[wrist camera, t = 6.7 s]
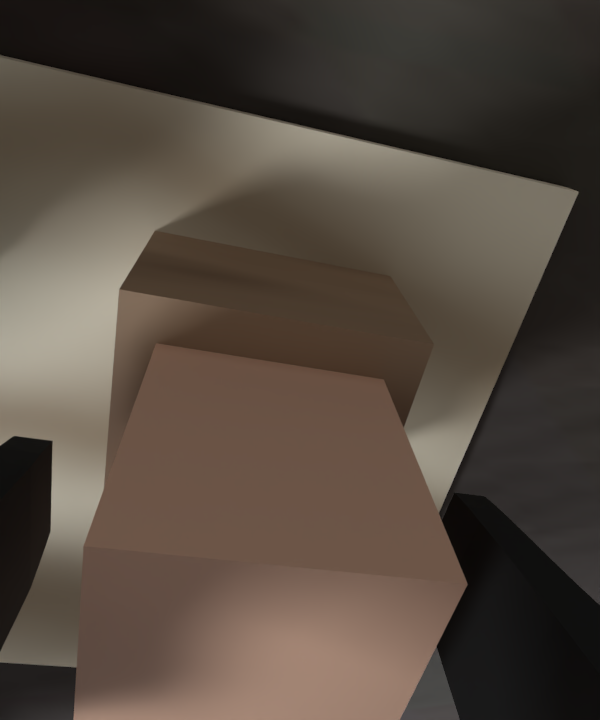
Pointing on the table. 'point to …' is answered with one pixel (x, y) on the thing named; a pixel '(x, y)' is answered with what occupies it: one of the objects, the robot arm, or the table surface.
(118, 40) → the table surface
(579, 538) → the table surface
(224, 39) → the table surface
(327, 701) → the clay block
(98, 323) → the birch board
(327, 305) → the walnut block
